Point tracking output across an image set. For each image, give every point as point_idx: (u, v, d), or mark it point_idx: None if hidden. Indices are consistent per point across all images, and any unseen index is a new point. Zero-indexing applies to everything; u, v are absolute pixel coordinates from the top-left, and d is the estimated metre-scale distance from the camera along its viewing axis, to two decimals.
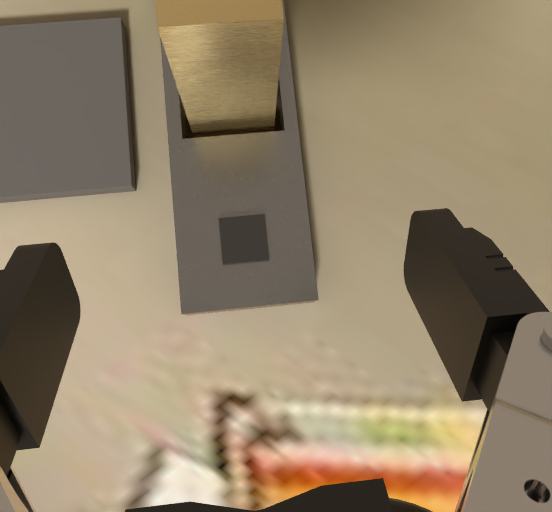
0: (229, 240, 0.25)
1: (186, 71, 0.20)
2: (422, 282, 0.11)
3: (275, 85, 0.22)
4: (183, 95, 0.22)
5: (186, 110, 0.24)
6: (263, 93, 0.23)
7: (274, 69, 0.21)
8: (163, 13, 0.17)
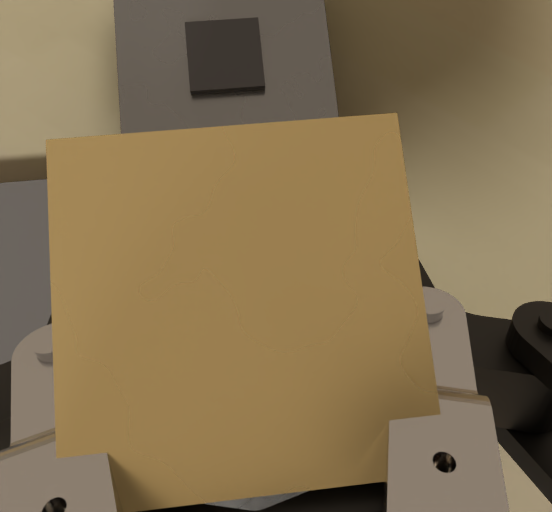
0: None
1: None
2: None
3: None
4: None
5: None
6: None
7: None
8: None
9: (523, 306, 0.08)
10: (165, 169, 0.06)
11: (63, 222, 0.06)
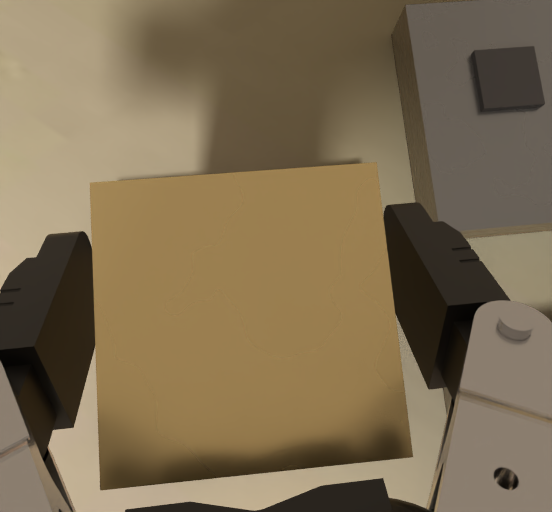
0: None
1: None
2: (394, 274, 0.11)
3: None
4: None
5: None
6: None
7: None
8: (116, 450, 0.07)
9: None
10: (186, 208, 0.08)
11: (104, 250, 0.07)
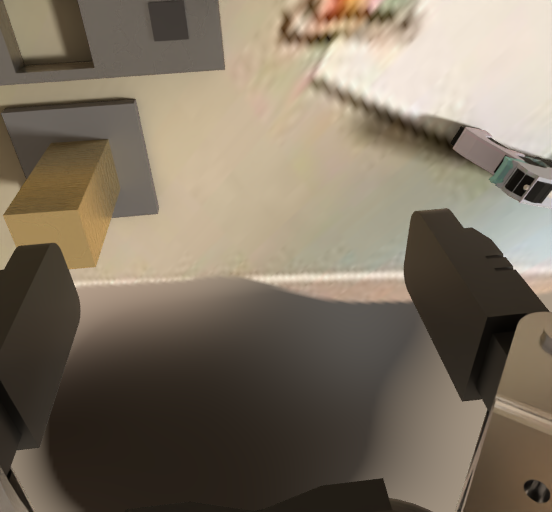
0: (170, 33, 0.34)
1: (102, 233, 0.35)
2: (422, 282, 0.11)
3: (93, 175, 0.34)
4: (108, 223, 0.37)
5: (111, 214, 0.38)
6: (97, 177, 0.35)
7: (90, 186, 0.33)
8: (86, 264, 0.33)
9: None
10: None
11: None
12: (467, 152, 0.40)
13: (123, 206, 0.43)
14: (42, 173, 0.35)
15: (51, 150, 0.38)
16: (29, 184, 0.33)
